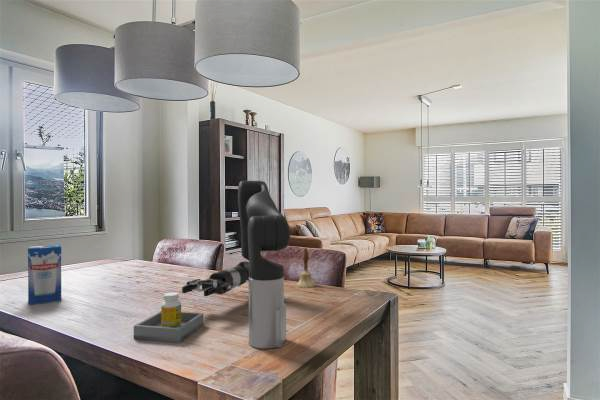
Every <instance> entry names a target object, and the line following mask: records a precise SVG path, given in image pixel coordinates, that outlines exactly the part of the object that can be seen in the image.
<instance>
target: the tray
mask: <svg viewBox="0 0 600 400" xmlns="http://www.w3.org/2000/svg"><path fill="white" fill-rule="evenodd" d="M202 326H204V312H190V311H188V312H187V311H181V327H179V328H171V327H161V310H160V311H159V312H157V313H155V314H153V315H151V316H149V317H147V318H146V319H144V320H142V321H140V322H138V323H136V324H135V325H133V340H145V341H156V342H167V343H181V342H182V341H183V342H184V340H185V339H187V338H188V337H189V336H191V335H192V334H193V333H195V332H196V331H198V329H200V328H201V327H202Z"/></svg>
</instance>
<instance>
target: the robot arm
mask: <svg viewBox="0 0 600 400" xmlns="http://www.w3.org/2000/svg"><path fill="white" fill-rule="evenodd" d="M237 188H238V189H237V202H238V213H239V214H238V215H239V224H240V231H241V235H240V236H241V249H240V250H241V256H242V257H243V259H244V260H246V261H240V262H239V263H238V264H236V266H234V267H230V268H225V269H222V270H218V271H215V272H213V273H211V274H210V276H209V277H208V278H205V279H201V278H197V279H193V280H189V281H187V282H186V285H182V287H181V291H182V294H186V293H187V294H188V293H190V292H195V291H197V292H203V297H209V296H212V295H224V294H226V293H228V292H230V291H232V290H234V289H236V288H237V287H240V286H242V285H244V284H246V283H247V281H248V343H249V345H250V346H251V347H253V348H256V349H273V348H281V347H282V346H283V344H284V343H285V341H286V339H287V303H285V269H284V266H283V265H282V264H280V263H278V262H274V261H271V260H270V259H267V258H265V257H264V256H263V255H262V252H274V251H275V252H276V251H282V250H285V249H286V248H287V247H288V246H289V243H290V241H291V229H290V226H289V223H288V222H289V221H288V220H287V219H286V216H285V215H283V213H282V212H280V211H279V210H278V208H277V206H276V204H275V201H274V200H273V198H272V197H271V194H270V192H269V190H270V189H269V188H268V185H267V183H266V182H265V181H262V180H241V181H240V182H239V183H238V186H237ZM200 287H201V288H200Z"/></svg>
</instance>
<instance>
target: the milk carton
mask: <svg viewBox="0 0 600 400" xmlns="http://www.w3.org/2000/svg"><path fill="white" fill-rule="evenodd" d="M27 276H28V277H27V281H28V282H27V287H28V290H27V296H28V297H27V299H28V300H27V305H28V306H33V305H39V304H47V303H55V302H62V245H61V244H55V245H54V244H53V245H40V246H39V245H35V246H29V247H28V248H27Z"/></svg>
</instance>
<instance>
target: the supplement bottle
mask: <svg viewBox="0 0 600 400" xmlns="http://www.w3.org/2000/svg"><path fill="white" fill-rule="evenodd" d="M179 296H180V295H179V292H176V291H175V292H167V293H164V294H163V300H164V301H162V302H161V309H160V311H161V327H171V328H179V327H181V312H182V302H181V300H179Z"/></svg>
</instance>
